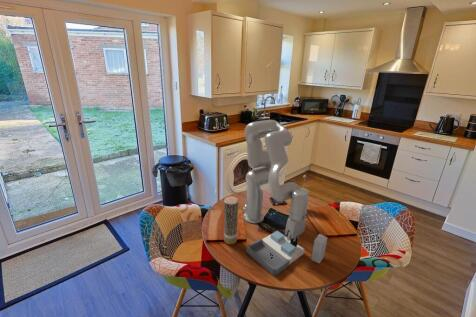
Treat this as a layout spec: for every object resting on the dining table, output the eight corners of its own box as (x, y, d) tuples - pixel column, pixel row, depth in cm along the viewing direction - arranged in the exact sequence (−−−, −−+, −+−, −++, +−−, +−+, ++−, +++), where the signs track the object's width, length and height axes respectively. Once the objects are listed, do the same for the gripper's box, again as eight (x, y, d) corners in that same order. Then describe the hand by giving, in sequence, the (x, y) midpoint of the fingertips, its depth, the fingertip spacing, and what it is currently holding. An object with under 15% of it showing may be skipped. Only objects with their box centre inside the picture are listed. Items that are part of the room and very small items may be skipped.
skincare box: (315, 252, 123) (319, 233, 118) (324, 256, 120) (328, 237, 116) (310, 259, 118) (314, 239, 114) (319, 264, 116) (323, 244, 111)
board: (261, 244, 128) (261, 239, 126) (276, 235, 135) (277, 230, 134) (288, 265, 115) (288, 260, 114) (303, 253, 122) (304, 249, 121)
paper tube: (239, 239, 131) (240, 198, 122) (232, 246, 125) (233, 205, 116) (228, 234, 134) (229, 195, 125) (221, 242, 128) (221, 200, 119)
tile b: (270, 238, 128) (270, 234, 127) (276, 234, 131) (277, 230, 130) (277, 243, 124) (277, 239, 123) (284, 239, 127) (284, 235, 126)
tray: (246, 252, 122) (246, 246, 121) (260, 243, 128) (260, 238, 127) (274, 276, 108) (274, 270, 107) (288, 266, 114) (289, 260, 113)
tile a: (280, 250, 120) (281, 246, 119) (287, 245, 123) (287, 241, 122) (288, 256, 116) (289, 251, 115) (295, 251, 119) (295, 247, 118)
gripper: (300, 205, 122) (296, 235, 129) (281, 216, 113) (277, 247, 120) (313, 212, 117) (308, 243, 124) (294, 224, 108) (289, 256, 114)
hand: (293, 245), depth 122 cm, fingers closed
